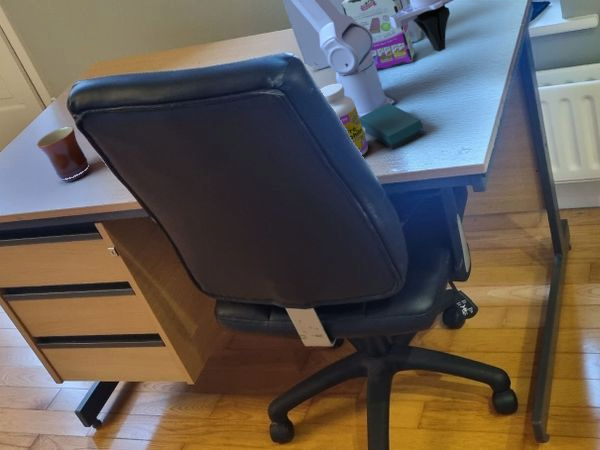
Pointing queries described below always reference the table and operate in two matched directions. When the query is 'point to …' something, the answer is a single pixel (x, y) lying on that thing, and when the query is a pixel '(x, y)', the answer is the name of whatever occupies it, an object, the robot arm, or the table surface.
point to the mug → (64, 153)
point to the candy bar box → (382, 30)
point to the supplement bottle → (346, 114)
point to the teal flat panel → (391, 125)
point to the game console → (310, 37)
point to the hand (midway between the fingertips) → (439, 49)
